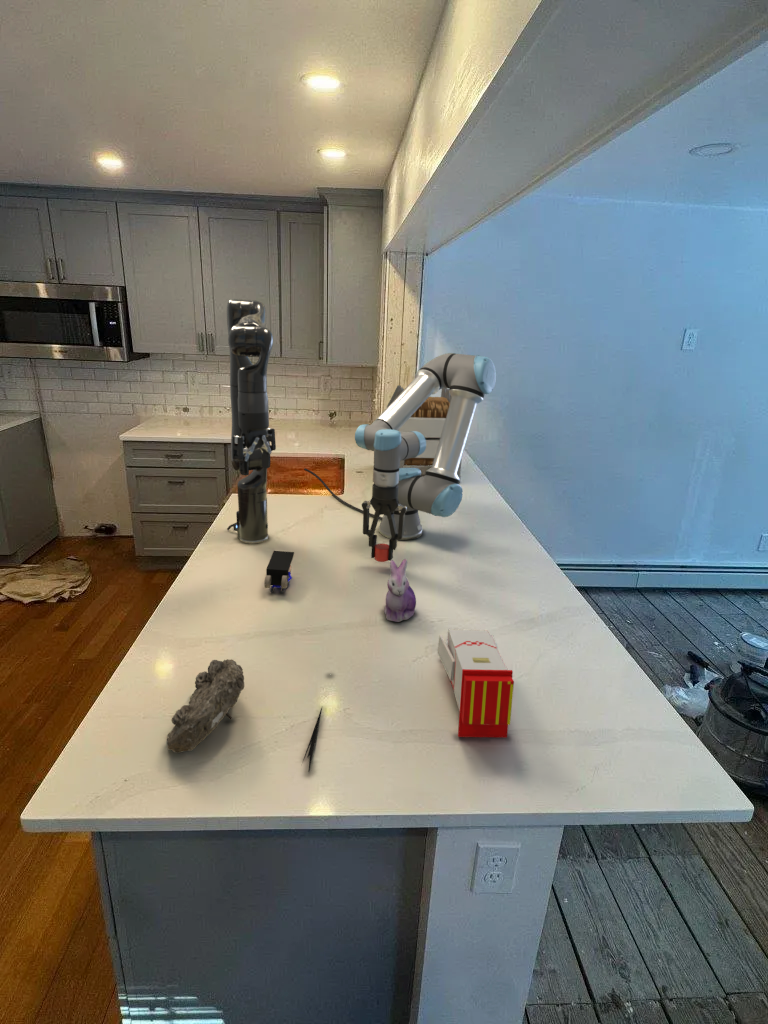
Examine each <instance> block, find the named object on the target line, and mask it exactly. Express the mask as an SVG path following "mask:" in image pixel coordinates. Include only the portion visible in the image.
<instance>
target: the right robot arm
mask: <svg viewBox="0 0 768 1024" xmlns="http://www.w3.org/2000/svg"><path fill="white" fill-rule="evenodd" d="M496 381H497V371H496V367H495V364H494V362H493V359H491V358H490V357H487V356H482V355H480V354H476V355H475V354H465V353H463V354H462V353H455V352H448V353H443V354H440V355H438V356H435V357H434V358H432V359H430V360H429V361H427V362H426V363H425V364H423V365H422V366H421V367H420V368H419V369H418V370H417V371H416V373H415V374H414V379H413V380H412V381H411V382H410V383H409V384H407V386H406V387H405V388H403V389H404V390H403V392H402V393H401V394H400V395H399V396H398V397H397V398H396V399H395V400H394V401H393V402H392V403H391V404H390V405H389V406H388V407H387V406H386V407H385V409H384V410H383V411H382V412H381V413H380V414H379V416H377V417H376V419H375V420H374V421H373V422H371V424H369V423H365V424H360V425H359V426H358V427H357V428H356V430H355V434H354V441H355V444H356V446H357V447H359V448H361V449H362V450H363V449H364V450H367V451H373V468H372V483H373V484H372V490H371V499H370V500H364V501H363V502H362V503H361V508H362V509H361V508H359V507H356V506H355V505H352V504H350V503H348V502H347V501H345V500H343V499H342V498H340V496H338V495H336V494H335V493H334V492H333V491H332V490H331V488H329V486H328V485H327V484H326V482H325V481H324V480H323V479H322V478H321V477H320V476H319V475H318V474H316V473H315V472H314V471H312V470H310V469H308V468H305V467H304V468H303V470H304V471H305V472H307V473H309V474H311V475H312V476H314V477H315V478H316V479H317V480H319V482H320V483H321V484H322V485H323V486H324V487H325V489H326V490H327V491H328V492H329V493H330V495H332V496H333V497H334V498H335V499H336V500H338V502H340V503H342V504H343V505H345V506H347V507H349V508H351V509H353V510H355V511H357V512H359V513H362V534H363V535H366V536H367V537H368V547H369V548H370V547H371V554H370V558H371V559H374V556H375V545H376V544H377V540H378V539H377V538H378V535H377V534H376V530H377V526H378V522H379V520H381V522H379V526H378V533H379V534H380V535H381V536H382V537H385V538H387V539H389V540H388V545H389V555H388V561H389V562H390V561H391V560H393V558H394V557H393V556H394V551H396V550H397V546H398V541H410V540H415V539H418V538H420V537H421V536H422V535H423V525H422V524H421V518H420V515H419V511H420V512H423V513H427V514H429V515H432V516H435V517H442V518H447V517H450V516H452V515H453V514H454V513H456V511H457V509H458V508H459V507H460V504H461V502H462V500H463V493H464V492H463V487H462V486H461V485H460V482H461V478H460V479H459V477H458V475H457V472H458V468H459V465H460V461H461V458H462V457H463V454H464V451H465V447H466V444H467V441H468V437H469V433H470V430H471V427H472V423H473V419H474V416H475V412H476V409H477V406H478V405H479V404H480V403H482V402H483V401H484V398H485V395H489V394H491V393H492V391H493V390H494V389H495V386H496ZM443 388H447V389H449V393H450V395H451V397H452V399H451V402H450V406H449V409H448V413H447V416H446V420H445V423H444V427H443V430H442V434H441V437H440V440H439V444H438V447H437V451H436V454H435V458H434V461H433V465H431V466H430V468H428V469H426V470H425V473H424V475H422V470H421V469H420V468H417V467H404V468H399V466H400V461H402V460H405V459H409V458H414V457H417V456H418V455H421V454H422V453H423V452H424V451H425V449H426V439H425V437H424V436H423V435H422V434H421V433H420V432H417V431H414V432H413V431H410V432H401V431H398V430H399V429H400V428H401V427H402V426H403V424H404V423H405V422H406V421H407V420H408V419H409V418H410V417H411V416H412V415H413V414H414V412H415V411H416V410H417V409H418V408H419V407H420V406H421V405H422V404H423V403H424V402H425V400H426V399H427V398H428V397H431V395H435V394H437V393H438V392H439V391H440V390H442V389H443ZM459 481H460V482H459ZM371 507H372V508H373V510H374V513H371V512H370V508H371ZM370 517H372V518H373V519H372V522H371V525H370Z"/></svg>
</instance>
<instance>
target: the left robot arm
mask: <svg viewBox="0 0 768 1024" xmlns="http://www.w3.org/2000/svg"><path fill="white" fill-rule="evenodd" d="M226 324H227V335H228V337H227V343H228V348H229V392H230V393H229V394H230V395H229V397H230V413H231V434H230V436H231V438H230V461H231V465H232V468H233V469H234V470H235V471H236V472H239V473H240V475H242V476H245V477H243V478H241V479H240V480H238V481H237V485H236V487H237V504H238V505H237V506H238V510H237V511H236V512H235V515H236V522H234V523H232V524H229V526H228V527H227V528H226V530H227V531H230V529H231V528H232V529H233V532H236V534H237V535H236V536H237V539H238V540H239V541H241V542H242V543H244V544H260V543H264V542H266V541H267V540H269V521H268V519H269V518H268V491H267V490H268V489H267V487H268V486H267V485H268V469H269V468H271V455H272V453H273V451H276V449H277V447H276V446H277V445H276V443H277V442H276V429H275V428H271V427H270V415H269V414H270V413H269V408H270V407H269V398H268V397H269V395H268V368H269V367H268V366H269V361H270V357H271V355H272V350H273V345H274V336H273V333H272V331H271V330H270V328H268V327H267V309H266V306H265V304H264V303H263V302H262V301H260V300H255V299H252V300H251V299H240V298H239V299H238V298H230V299H229V300H228V301H227V305H226ZM250 357H257V358H258V359H257V361H256V362H255V363H253V362H252V361H251V359H250ZM250 471H251V472H250Z"/></svg>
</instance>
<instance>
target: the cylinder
mask: <svg viewBox="0 0 768 1024" xmlns="http://www.w3.org/2000/svg"><path fill="white" fill-rule="evenodd" d="M388 555H389V543H376V545H375V556H374V558H373V559H374V560H375V561H377V562H381V563H385V562H388V561H389V560H388Z"/></svg>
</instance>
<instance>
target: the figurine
mask: <svg viewBox="0 0 768 1024" xmlns="http://www.w3.org/2000/svg"><path fill="white" fill-rule="evenodd" d="M407 567H408V559H406V558H404V559H403V560H402V561H401V563H400V565H399V566H398V565H397V563H396V562H395V561H394V560H393V559H391V561H389V570H390V576H389V578H388V579H387V589H388V591H387V592H386V594H385V595H386V596H385V607H384V615H385V616H386V620H387V621H391V622H395V623H400V622H402V621H406V620H409V619H410V618H411V617H413V616H414V615H415V610H416V606H417V597H416V593H415V591H414V590H413V587H411V586H410V582H409V579H408V577H407V574H406V571H407Z"/></svg>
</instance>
